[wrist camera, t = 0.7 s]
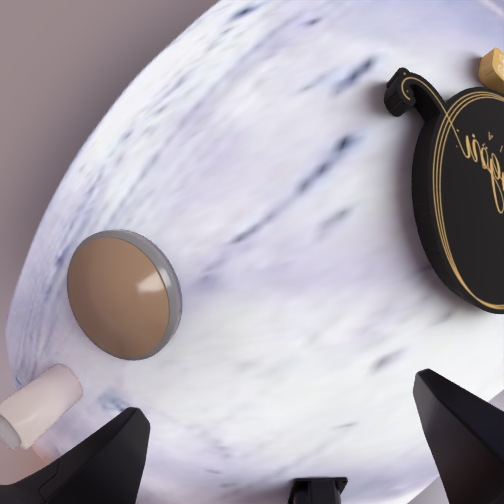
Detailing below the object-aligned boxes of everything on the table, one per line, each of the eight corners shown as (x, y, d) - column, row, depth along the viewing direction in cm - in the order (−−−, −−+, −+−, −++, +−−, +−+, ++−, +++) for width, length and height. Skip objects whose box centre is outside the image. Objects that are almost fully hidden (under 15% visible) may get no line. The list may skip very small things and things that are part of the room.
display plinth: (184, 363, 23) (177, 374, 22) (83, 339, 25) (73, 346, 23) (182, 232, 22) (173, 234, 20) (74, 227, 23) (61, 229, 21)
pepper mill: (87, 404, 26) (26, 464, 14) (58, 391, 27) (-2, 441, 14) (77, 370, 26) (5, 428, 13) (48, 358, 26) (-21, 405, 13)
